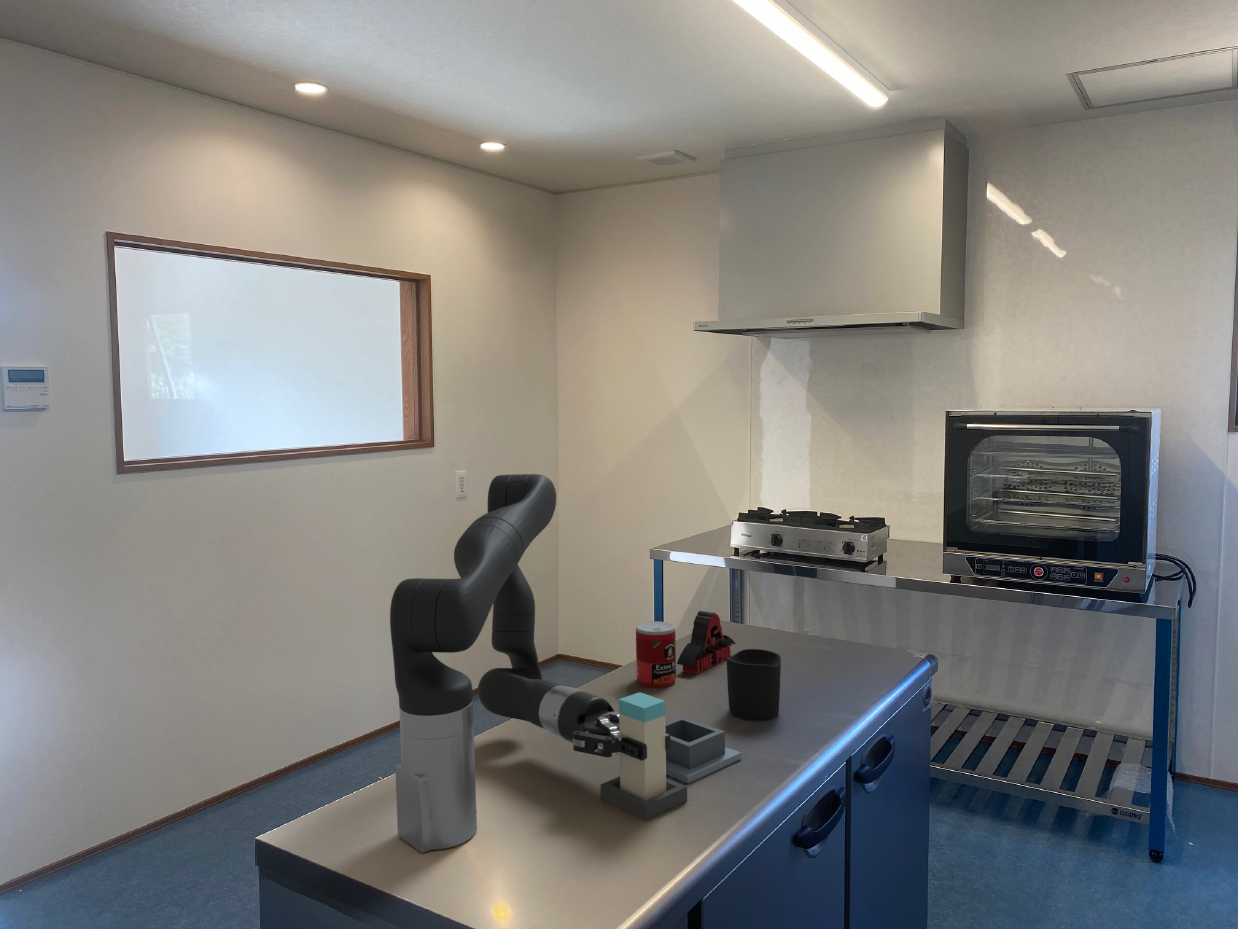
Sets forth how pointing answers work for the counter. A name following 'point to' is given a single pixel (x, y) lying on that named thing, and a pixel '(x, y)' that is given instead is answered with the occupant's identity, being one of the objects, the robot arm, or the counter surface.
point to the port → (696, 750)
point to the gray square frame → (640, 807)
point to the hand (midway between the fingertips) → (656, 747)
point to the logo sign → (705, 644)
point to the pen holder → (754, 684)
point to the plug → (645, 725)
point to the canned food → (656, 654)
